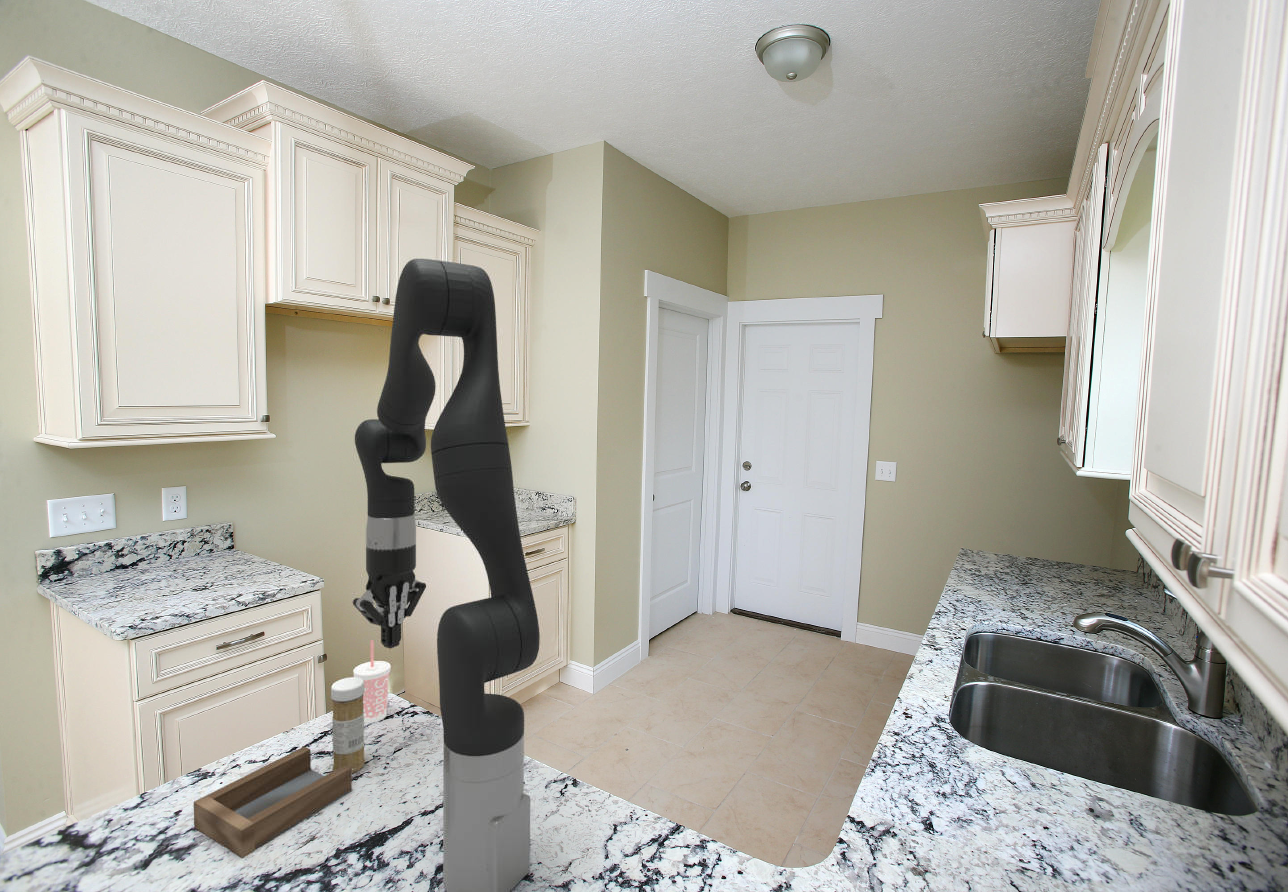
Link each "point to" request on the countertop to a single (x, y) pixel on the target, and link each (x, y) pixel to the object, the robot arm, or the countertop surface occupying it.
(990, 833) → the countertop surface
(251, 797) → the u rest
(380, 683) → the beverage cup
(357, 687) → the sprinkles bottle
